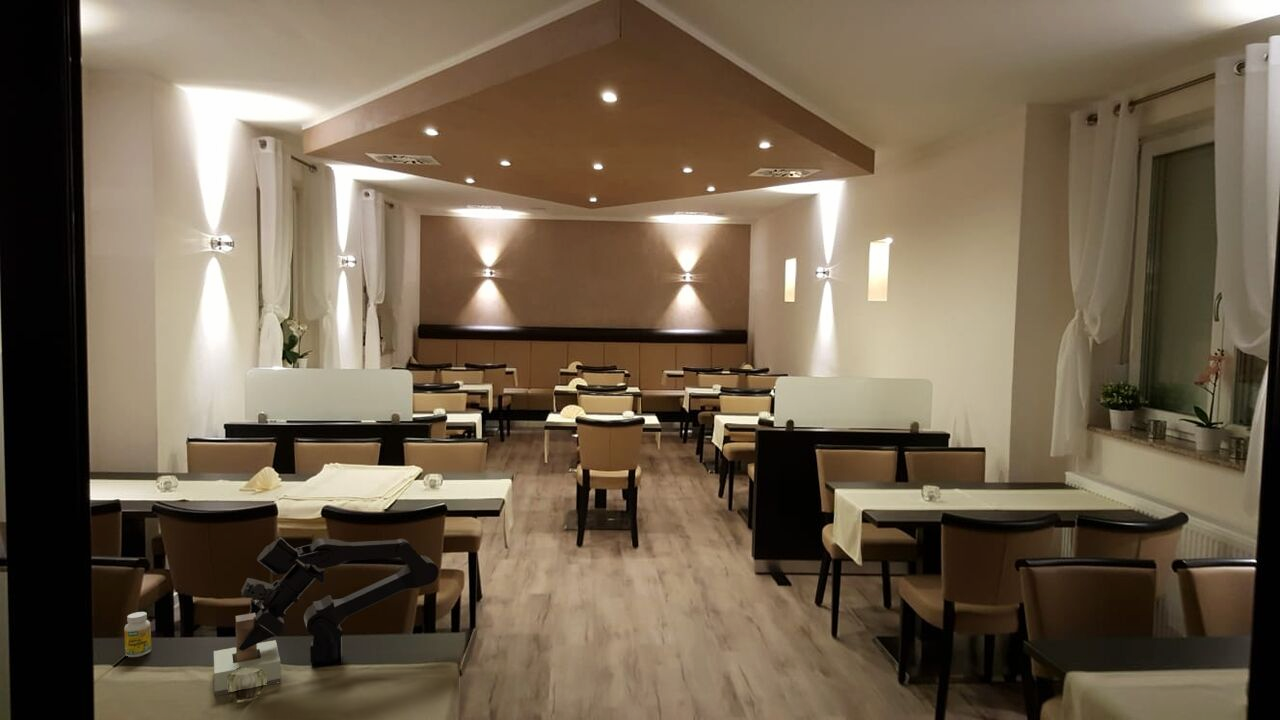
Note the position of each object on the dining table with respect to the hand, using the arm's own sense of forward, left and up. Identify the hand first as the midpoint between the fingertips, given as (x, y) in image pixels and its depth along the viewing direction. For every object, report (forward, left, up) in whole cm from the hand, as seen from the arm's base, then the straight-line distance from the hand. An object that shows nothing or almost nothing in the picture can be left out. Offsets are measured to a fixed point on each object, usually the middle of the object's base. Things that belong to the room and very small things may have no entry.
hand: (239, 641), depth 174 cm
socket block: (-1, 0, -9) cm, 9 cm away
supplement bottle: (+26, -23, -9) cm, 36 cm away
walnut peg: (-1, 0, -8) cm, 8 cm away
